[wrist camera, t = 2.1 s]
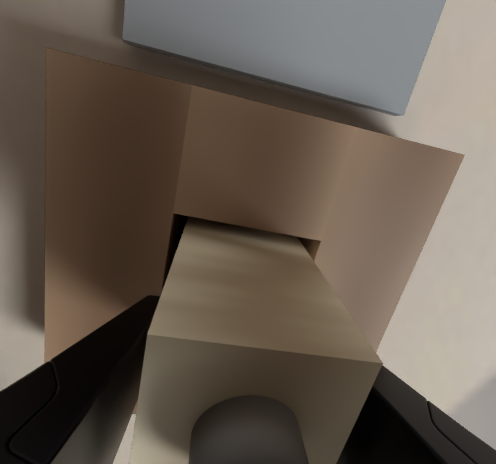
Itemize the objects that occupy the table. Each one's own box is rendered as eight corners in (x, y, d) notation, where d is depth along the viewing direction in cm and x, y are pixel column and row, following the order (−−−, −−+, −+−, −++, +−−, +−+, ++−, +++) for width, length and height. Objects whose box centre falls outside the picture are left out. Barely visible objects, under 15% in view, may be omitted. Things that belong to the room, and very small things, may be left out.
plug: (178, 288, 13) (105, 573, 5) (193, 203, 12) (127, 388, 4) (264, 300, 14) (331, 573, 5) (286, 221, 13) (418, 416, 4)
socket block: (79, 349, 14) (44, 406, 11) (94, 68, 10) (45, 47, 7) (318, 376, 16) (340, 430, 13) (407, 147, 12) (464, 154, 9)
